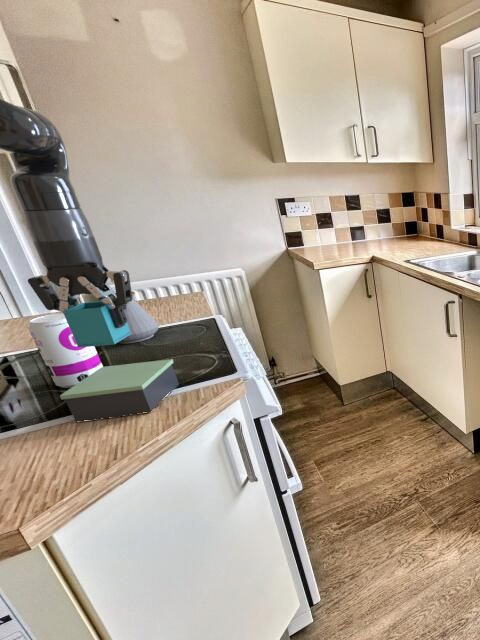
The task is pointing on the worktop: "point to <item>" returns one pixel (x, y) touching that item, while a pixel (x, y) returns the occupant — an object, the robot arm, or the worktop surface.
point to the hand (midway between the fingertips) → (100, 328)
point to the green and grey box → (121, 390)
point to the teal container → (94, 325)
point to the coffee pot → (138, 322)
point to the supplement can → (63, 351)
